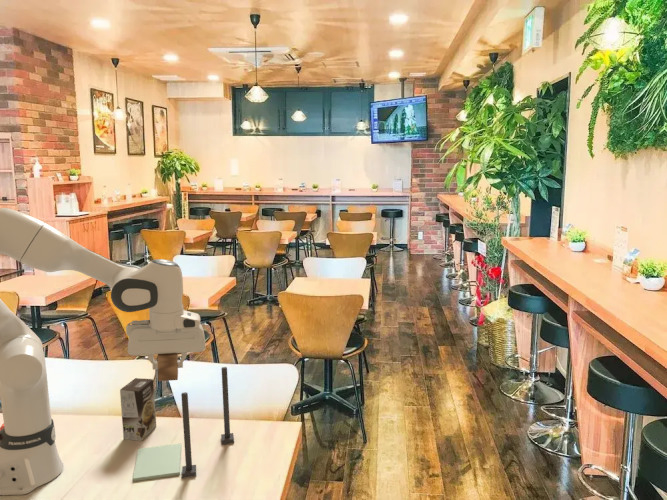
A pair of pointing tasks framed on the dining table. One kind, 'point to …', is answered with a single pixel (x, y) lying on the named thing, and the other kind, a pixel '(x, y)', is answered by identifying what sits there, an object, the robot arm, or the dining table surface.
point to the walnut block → (167, 367)
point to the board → (157, 462)
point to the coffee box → (138, 409)
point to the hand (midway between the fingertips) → (168, 367)
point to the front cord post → (187, 440)
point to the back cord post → (226, 410)
